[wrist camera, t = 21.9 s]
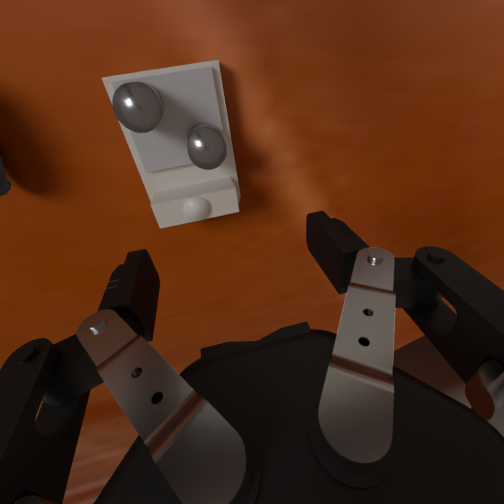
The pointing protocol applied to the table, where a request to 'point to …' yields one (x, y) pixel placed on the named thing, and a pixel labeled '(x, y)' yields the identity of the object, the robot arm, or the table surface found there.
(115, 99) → the grey glossy egg shape
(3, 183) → the stone
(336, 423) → the robot arm
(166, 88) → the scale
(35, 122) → the table surface
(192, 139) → the cylinder
